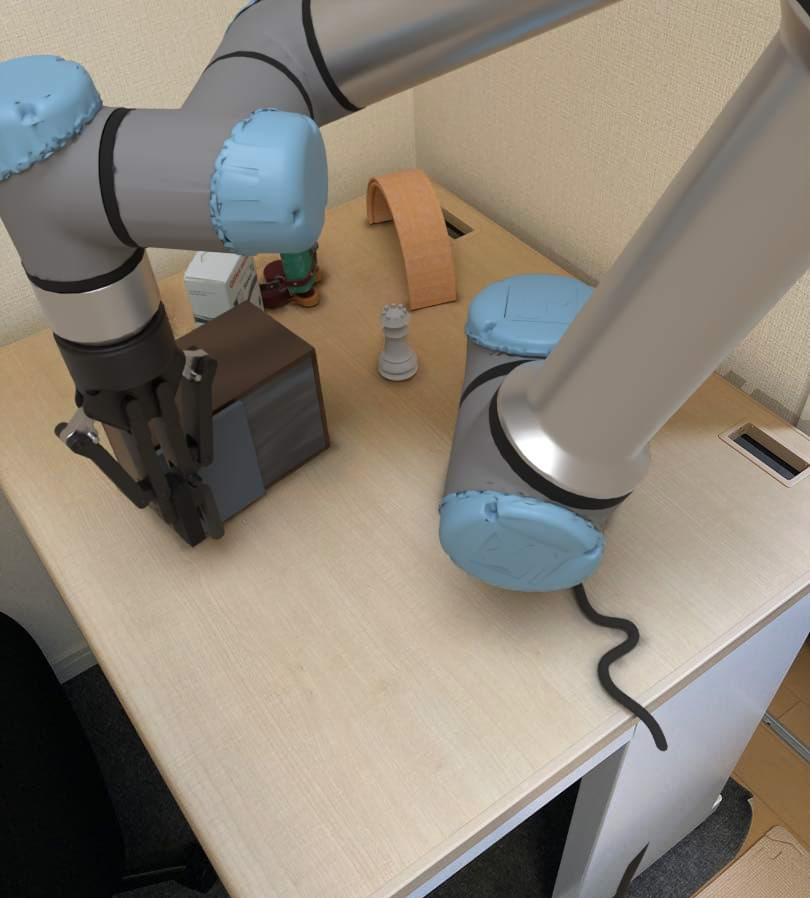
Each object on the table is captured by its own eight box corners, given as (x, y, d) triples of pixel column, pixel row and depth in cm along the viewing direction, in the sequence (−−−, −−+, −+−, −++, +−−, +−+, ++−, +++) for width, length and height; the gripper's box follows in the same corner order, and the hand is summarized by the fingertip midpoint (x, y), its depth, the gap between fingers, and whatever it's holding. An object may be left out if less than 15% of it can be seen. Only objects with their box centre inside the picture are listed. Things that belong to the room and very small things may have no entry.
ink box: (246, 371, 102) (225, 282, 92) (205, 367, 102) (179, 278, 93) (269, 322, 107) (251, 233, 98) (229, 319, 108) (207, 230, 98)
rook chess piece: (396, 389, 98) (391, 330, 92) (369, 369, 101) (363, 310, 94) (426, 369, 100) (424, 310, 94) (400, 350, 102) (396, 291, 96)
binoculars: (228, 199, 106) (312, 188, 105) (253, 275, 114) (331, 266, 113) (217, 243, 100) (305, 232, 99) (244, 320, 109) (326, 311, 107)
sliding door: (292, 515, 87) (271, 425, 78) (215, 568, 84) (185, 481, 74) (262, 489, 89) (239, 399, 80) (187, 540, 86) (153, 452, 76)
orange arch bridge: (409, 310, 107) (405, 235, 99) (367, 219, 119) (360, 146, 111) (456, 300, 108) (456, 224, 100) (409, 211, 120) (406, 137, 112)
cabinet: (331, 446, 94) (315, 347, 84) (187, 544, 87) (150, 448, 76) (269, 398, 99) (247, 299, 89) (128, 486, 92) (86, 389, 82)
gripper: (156, 248, 65) (225, 472, 83) (-9, 334, 60) (103, 553, 78) (218, 291, 61) (276, 516, 80) (48, 387, 56) (152, 603, 75)
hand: (190, 534), depth 79 cm, fingers closed
